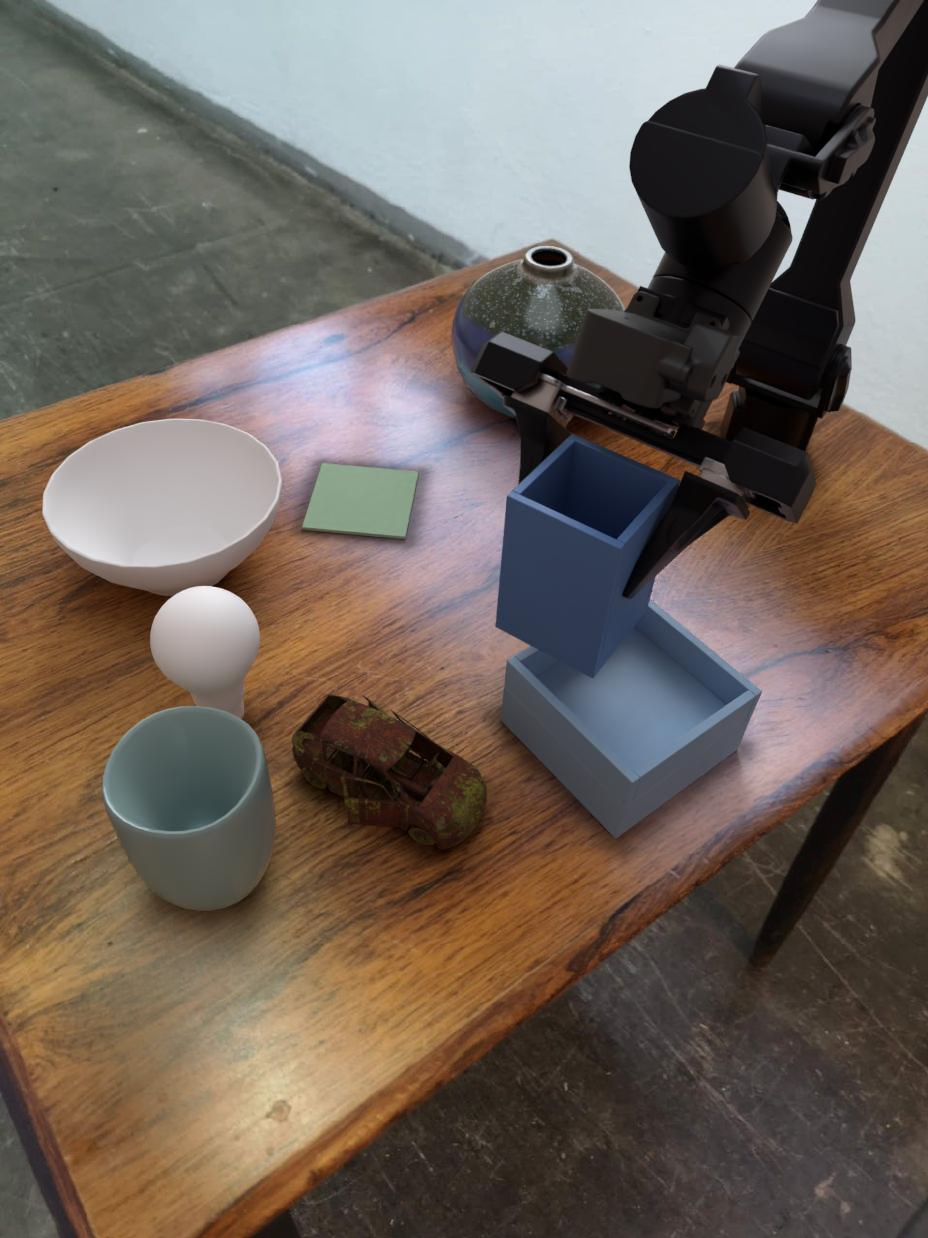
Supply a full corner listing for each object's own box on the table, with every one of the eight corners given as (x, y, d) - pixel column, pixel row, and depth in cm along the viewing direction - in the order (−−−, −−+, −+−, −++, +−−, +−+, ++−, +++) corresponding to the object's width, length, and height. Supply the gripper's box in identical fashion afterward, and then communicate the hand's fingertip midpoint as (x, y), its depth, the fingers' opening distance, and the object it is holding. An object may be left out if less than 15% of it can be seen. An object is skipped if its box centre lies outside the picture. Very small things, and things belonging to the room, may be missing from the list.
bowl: (21, 599, 67) (-12, 524, 62) (153, 470, 78) (134, 397, 72) (217, 670, 64) (200, 596, 59) (329, 524, 74) (322, 451, 69)
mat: (418, 474, 79) (418, 471, 78) (405, 539, 73) (405, 536, 73) (322, 465, 79) (322, 462, 79) (302, 529, 73) (301, 527, 73)
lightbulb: (290, 699, 62) (272, 580, 54) (246, 773, 58) (219, 656, 50) (207, 673, 63) (176, 553, 55) (158, 744, 59) (117, 625, 51)
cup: (256, 946, 51) (229, 852, 44) (119, 915, 52) (70, 818, 44) (302, 821, 56) (285, 718, 49) (176, 795, 57) (142, 691, 50)
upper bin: (553, 564, 60) (572, 433, 52) (647, 610, 57) (680, 479, 50) (494, 627, 56) (506, 495, 49) (592, 679, 54) (620, 548, 46)
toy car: (272, 791, 58) (262, 743, 54) (338, 711, 62) (333, 662, 58) (444, 884, 54) (446, 840, 50) (502, 793, 58) (508, 746, 54)
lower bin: (619, 646, 67) (634, 585, 62) (737, 749, 61) (762, 691, 56) (499, 719, 62) (506, 659, 57) (615, 839, 56) (632, 783, 52)
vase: (416, 409, 85) (416, 266, 75) (503, 333, 94) (513, 197, 84) (570, 470, 80) (592, 326, 70) (646, 384, 89) (675, 246, 79)
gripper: (500, 180, 46) (365, 474, 48) (876, 303, 39) (703, 640, 41) (564, 271, 57) (452, 511, 58) (872, 381, 50) (733, 649, 52)
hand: (569, 569), depth 52 cm, fingers closed on upper bin, 6 cm apart
